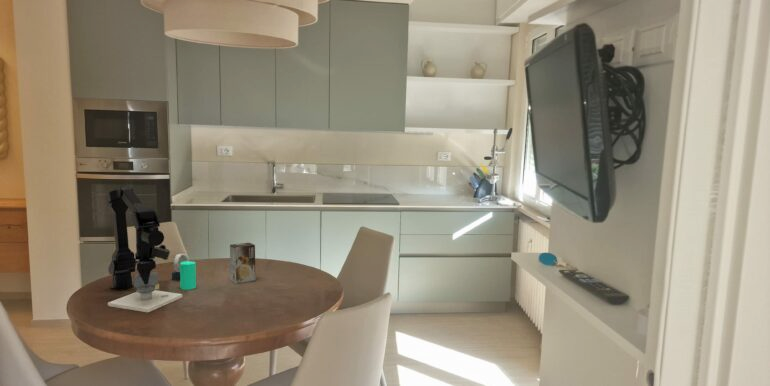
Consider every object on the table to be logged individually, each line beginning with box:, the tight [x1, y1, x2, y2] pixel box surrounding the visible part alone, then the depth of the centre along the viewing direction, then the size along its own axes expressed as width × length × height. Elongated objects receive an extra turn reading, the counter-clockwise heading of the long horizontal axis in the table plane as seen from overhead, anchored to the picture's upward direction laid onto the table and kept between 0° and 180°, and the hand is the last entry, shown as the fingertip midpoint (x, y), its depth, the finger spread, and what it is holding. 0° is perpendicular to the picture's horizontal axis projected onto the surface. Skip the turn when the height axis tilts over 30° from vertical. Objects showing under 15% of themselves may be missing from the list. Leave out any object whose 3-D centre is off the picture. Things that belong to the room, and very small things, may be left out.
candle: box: [179, 260, 197, 290], centre depth 207 cm, size 6×6×12 cm
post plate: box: [107, 289, 183, 313], centre depth 190 cm, size 18×18×4 cm
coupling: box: [133, 271, 160, 293], centre depth 189 cm, size 8×6×6 cm
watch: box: [171, 253, 190, 281], centre depth 219 cm, size 6×8×11 cm
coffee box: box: [229, 242, 257, 285], centre depth 219 cm, size 9×6×16 cm
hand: (145, 282), depth 189 cm, fingers open, 6 cm apart
